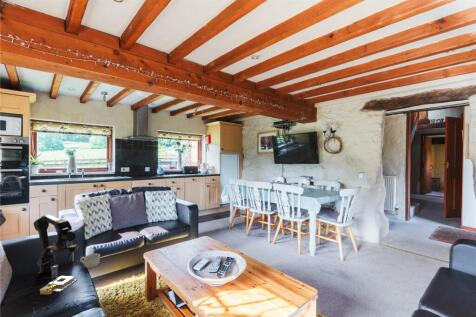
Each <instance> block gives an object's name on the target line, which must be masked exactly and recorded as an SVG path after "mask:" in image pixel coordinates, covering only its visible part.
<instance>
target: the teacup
mask: <svg viewBox="0 0 476 317" xmlns="http://www.w3.org/2000/svg"><path fill="white" fill-rule="evenodd" d="M100 257H101V254H100V253H91V254H87V255H86V256H81V257H80V258H79V261H80V263H82V264H83V266H84V268H87V269H93V268H95V267H97V266H98V265H99V264H100V263H101V262H100V261H101V259H100Z"/></svg>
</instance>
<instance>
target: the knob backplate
mask: <svg viewBox="0 0 476 317" xmlns="http://www.w3.org/2000/svg"><path fill="white" fill-rule="evenodd" d="M76 280H77V279H75V276H71V275H69V276H68V275H61V276H57V279H55V280H51V281H50V282H49V283H47V285H45V286H43V287H42V288H40V289H39V294H40V295H46V296H47V295H48V296H50V295H51V294H53V292H55V293H61V292H62V291H64V290H65V289H66V288H68V287H70V286H71V285H73V283H75V282H77V281H76ZM49 294H50V295H49Z"/></svg>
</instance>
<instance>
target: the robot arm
mask: <svg viewBox="0 0 476 317" xmlns="http://www.w3.org/2000/svg"><path fill="white" fill-rule="evenodd" d="M50 224H51V225H53V226H54V228H55V233H56V242H55V245H50V241H49V235H48V229H49V226H50ZM33 227H34V229H35V230H36V232H38V236H39V243H40V244H39V245H40V249H41V251H40V254H39V258H38V260H37V261H36V266H37V267H39V272H37V274H38V275H47V274H49V273H50V272H52V269H51V266H53V264H52V263H54V262H55V261H56V254H61V252H62V251H63V252H64V251H66V250H68V252H67V253H68V256H67V257H68V261H70V260H71V258H72V255H73V253H74V252H76V251H77V250H78V249H79V245H78V244H71V245H70V246H68V242H73V241H74V240H75V239H76V236H77V235H76V233H74V231H73V227H72V225H71V223H70V221H69V220H67V219H59V218H58V217H56V216H54V215H52V214H45V215H42V216H41V217H40V218H37V219H35V221H34V222H33Z"/></svg>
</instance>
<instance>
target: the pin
mask: <svg viewBox="0 0 476 317" xmlns="http://www.w3.org/2000/svg"><path fill="white" fill-rule="evenodd" d="M58 268H59V264H54V265H53V264H52V266H51V269H52V271H51V281H53V280H55V279H57V278H58Z"/></svg>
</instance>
